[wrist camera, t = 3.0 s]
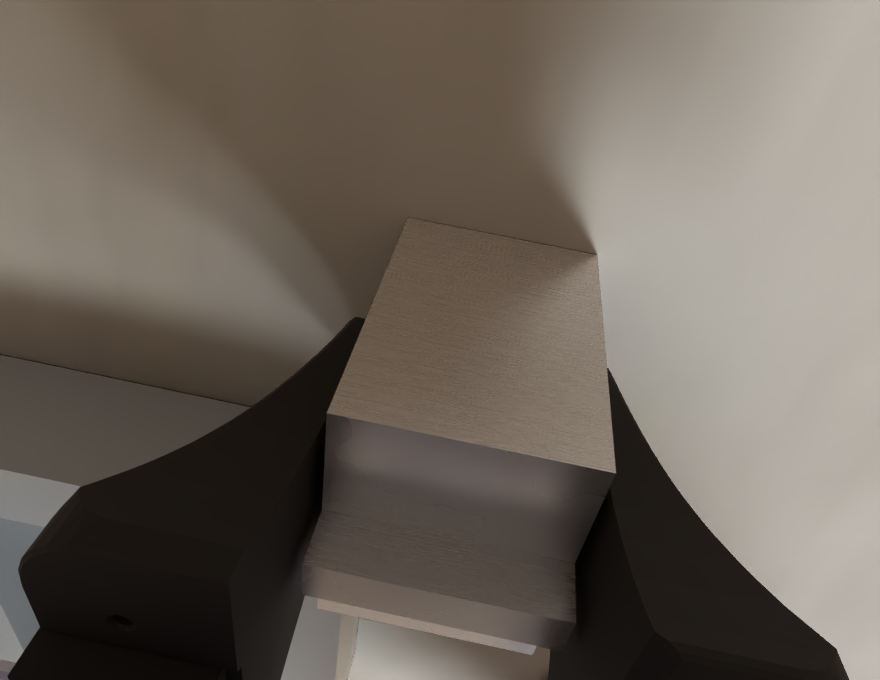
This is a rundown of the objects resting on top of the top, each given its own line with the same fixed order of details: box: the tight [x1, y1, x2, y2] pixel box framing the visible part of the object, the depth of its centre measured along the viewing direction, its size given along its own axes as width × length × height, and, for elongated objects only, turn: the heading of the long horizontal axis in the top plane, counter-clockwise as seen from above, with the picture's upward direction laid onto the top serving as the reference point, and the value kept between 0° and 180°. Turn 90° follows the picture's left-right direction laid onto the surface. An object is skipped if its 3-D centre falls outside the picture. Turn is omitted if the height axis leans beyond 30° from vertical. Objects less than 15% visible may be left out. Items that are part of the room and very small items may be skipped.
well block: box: [0, 355, 359, 680], centre depth 20 cm, size 12×12×4 cm
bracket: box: [301, 218, 616, 655], centre depth 12 cm, size 4×5×7 cm
